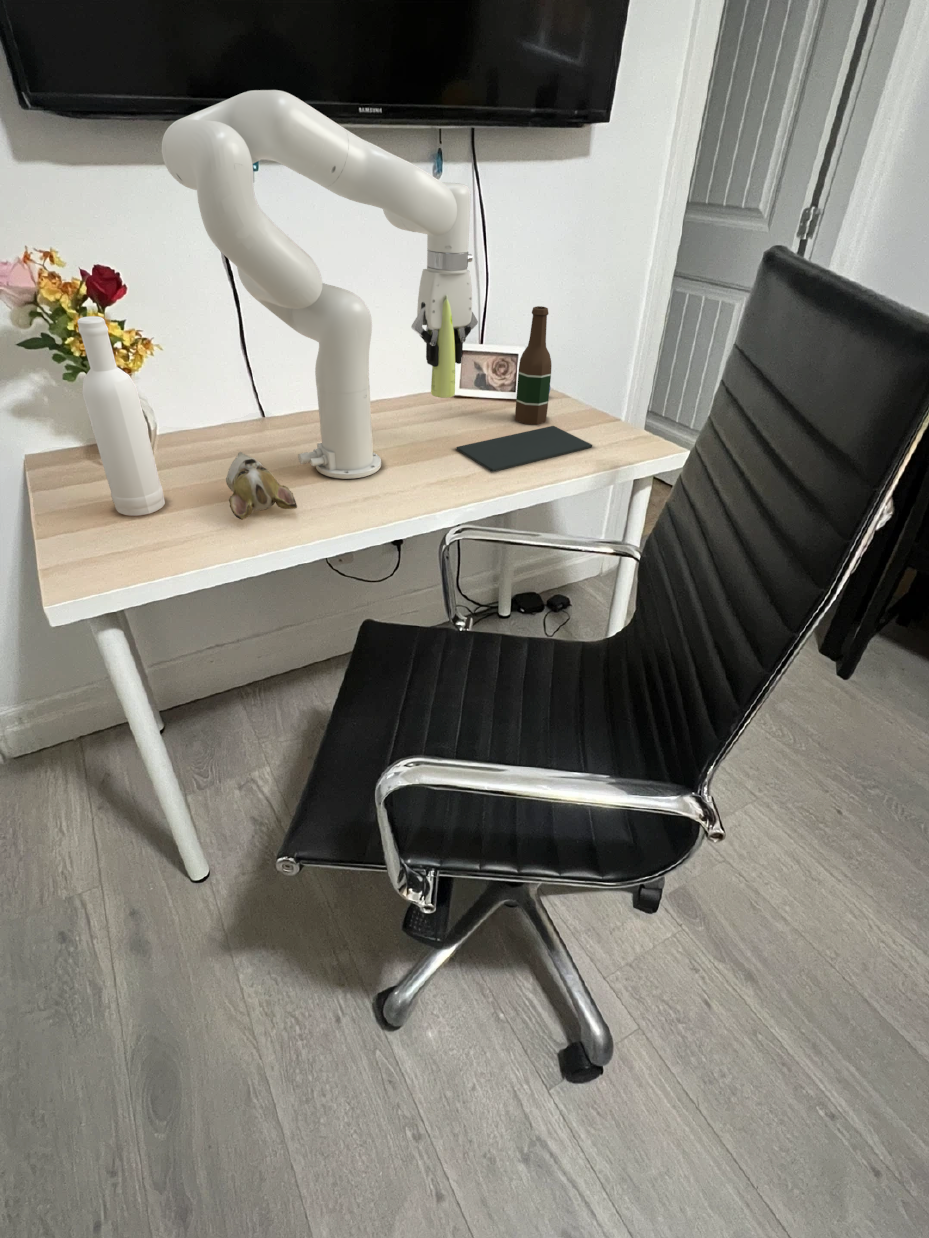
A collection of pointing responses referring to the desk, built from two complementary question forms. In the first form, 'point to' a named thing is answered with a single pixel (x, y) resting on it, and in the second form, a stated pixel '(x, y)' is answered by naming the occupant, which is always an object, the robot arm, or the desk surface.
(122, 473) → the bottle
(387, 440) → the desk surface
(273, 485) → the ceramic sculpture
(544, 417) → the beer bottle
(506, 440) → the mat
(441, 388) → the tube
